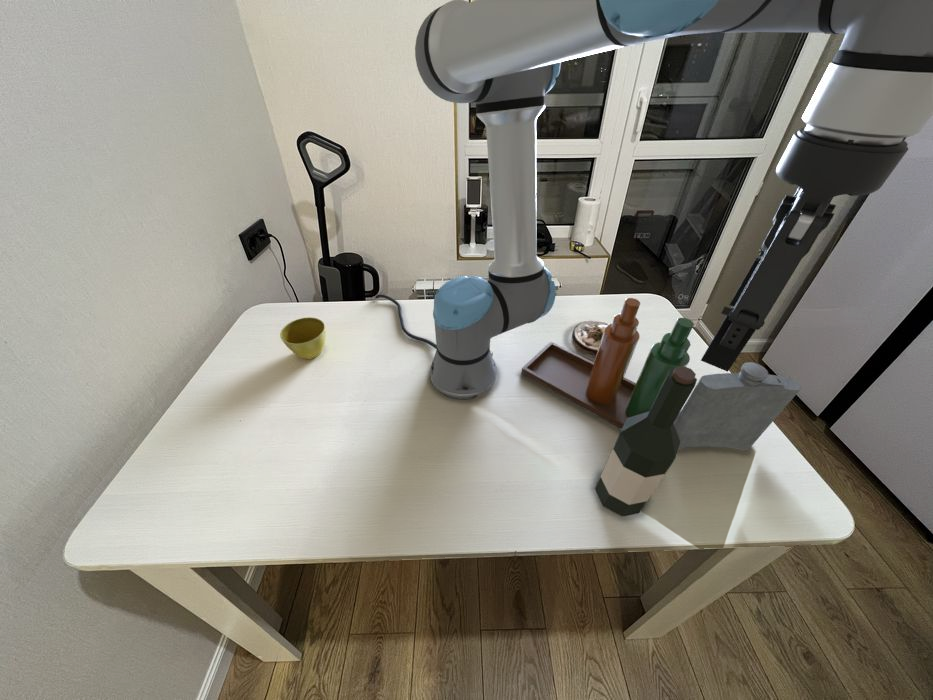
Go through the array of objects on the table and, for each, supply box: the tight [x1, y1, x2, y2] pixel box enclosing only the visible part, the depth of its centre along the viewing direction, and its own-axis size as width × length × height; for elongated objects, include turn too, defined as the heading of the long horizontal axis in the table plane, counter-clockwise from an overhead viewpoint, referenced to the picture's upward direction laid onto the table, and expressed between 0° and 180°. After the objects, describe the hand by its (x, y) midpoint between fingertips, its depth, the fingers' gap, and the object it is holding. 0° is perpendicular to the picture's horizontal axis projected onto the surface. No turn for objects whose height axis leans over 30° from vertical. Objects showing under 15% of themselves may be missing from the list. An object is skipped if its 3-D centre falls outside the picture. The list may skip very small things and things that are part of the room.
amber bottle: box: [586, 297, 641, 404], centre depth 75 cm, size 6×6×24 cm
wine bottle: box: [594, 366, 698, 517], centre depth 56 cm, size 8×8×30 cm
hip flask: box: [673, 361, 802, 451], centre depth 67 cm, size 16×4×20 cm, turn 88°
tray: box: [520, 341, 636, 430], centre depth 83 cm, size 32×13×2 cm, turn 49°
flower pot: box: [279, 317, 326, 360], centre depth 92 cm, size 10×10×7 cm
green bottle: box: [625, 317, 695, 418], centre depth 70 cm, size 6×6×24 cm
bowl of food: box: [571, 320, 609, 356], centre depth 95 cm, size 15×15×4 cm
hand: (729, 333), depth 45 cm, fingers open, 13 cm apart
